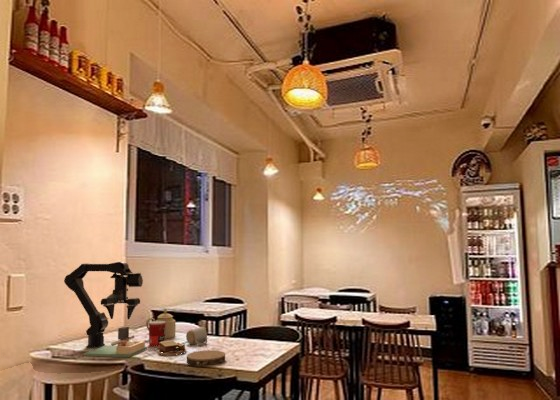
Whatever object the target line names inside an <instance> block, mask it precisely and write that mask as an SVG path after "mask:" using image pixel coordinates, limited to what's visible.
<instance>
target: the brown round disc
mask: <svg viewBox="0 0 560 400" xmlns="http://www.w3.org/2000/svg"><path fill="white" fill-rule="evenodd" d="M225 361H226V352H224V351H222V350H213V349H211V350H209V349H208V350H198V351H197V350H196V351H193V352H190V353H188V354H187V355H186V363H188V364H187V365H190V366H192V367H193V366H194V367H212V366H216V365H221V364H223V363H225Z"/></svg>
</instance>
